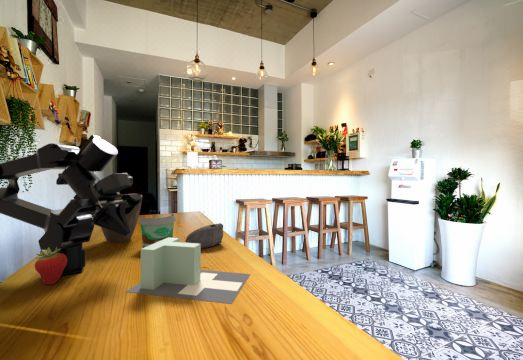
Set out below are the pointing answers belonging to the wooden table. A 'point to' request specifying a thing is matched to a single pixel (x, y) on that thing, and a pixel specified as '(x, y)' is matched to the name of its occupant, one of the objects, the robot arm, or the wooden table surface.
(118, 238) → the plant pot
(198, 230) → the perforated stone tool
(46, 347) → the wooden table surface
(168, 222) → the food container
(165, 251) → the t block
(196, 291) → the mat
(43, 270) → the fruit
